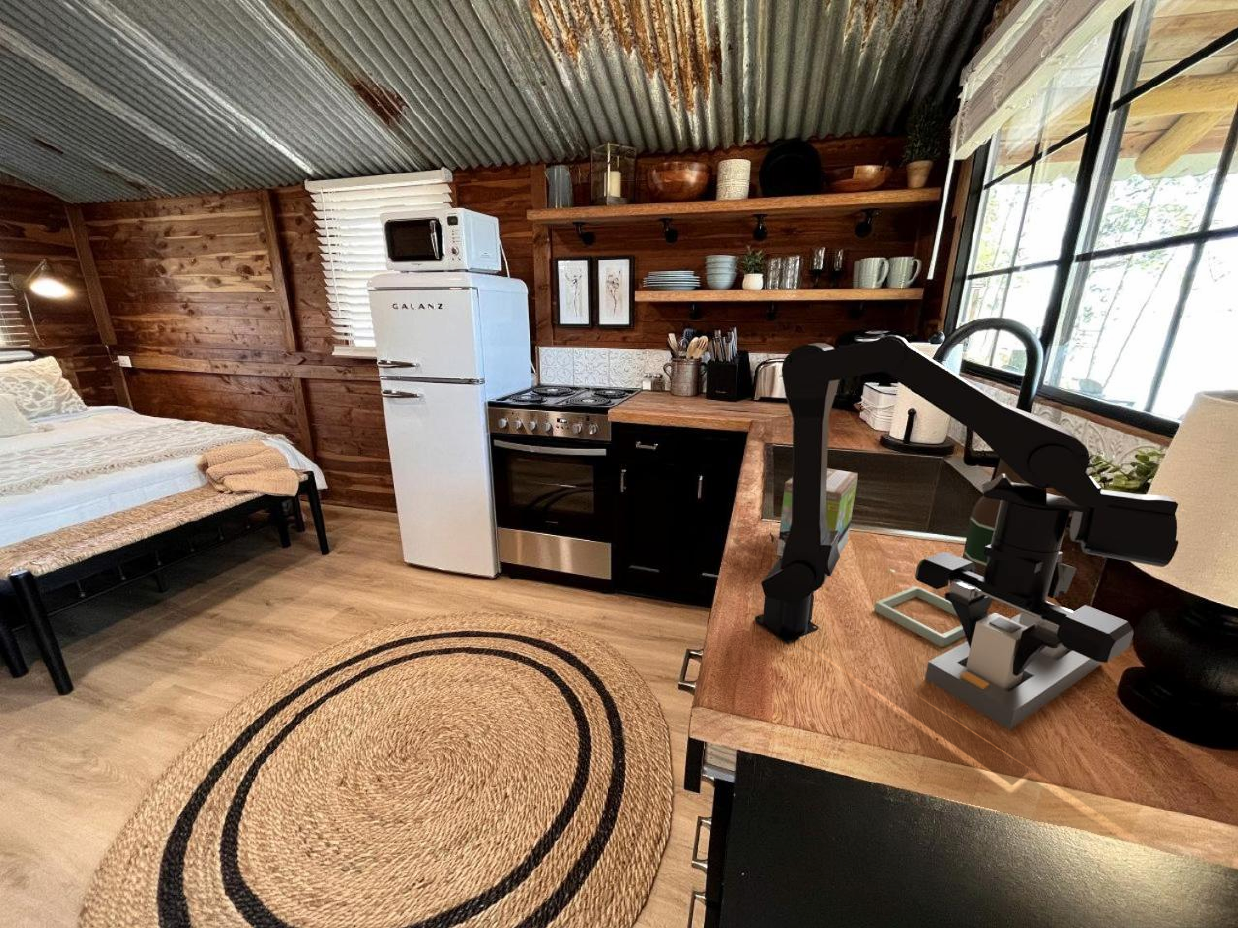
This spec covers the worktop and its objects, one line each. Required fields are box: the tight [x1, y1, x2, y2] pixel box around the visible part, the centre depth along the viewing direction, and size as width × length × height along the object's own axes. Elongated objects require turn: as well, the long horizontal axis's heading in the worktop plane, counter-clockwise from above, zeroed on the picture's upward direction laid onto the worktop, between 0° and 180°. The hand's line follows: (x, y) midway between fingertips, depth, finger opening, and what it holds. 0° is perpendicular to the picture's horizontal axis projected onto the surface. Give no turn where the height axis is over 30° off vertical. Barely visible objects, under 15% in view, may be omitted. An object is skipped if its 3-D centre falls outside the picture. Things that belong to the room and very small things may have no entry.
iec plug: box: [966, 612, 1028, 691], centre depth 58 cm, size 4×4×7 cm
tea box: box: [776, 467, 859, 558], centre depth 94 cm, size 15×10×15 cm
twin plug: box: [1019, 600, 1067, 660], centre depth 63 cm, size 4×4×7 cm
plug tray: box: [873, 585, 966, 648], centre depth 73 cm, size 10×10×2 cm
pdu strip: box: [924, 612, 1102, 731], centre depth 62 cm, size 25×9×3 cm, turn 118°
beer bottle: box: [962, 458, 1025, 577], centre depth 80 cm, size 8×8×24 cm
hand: (995, 663), depth 58 cm, fingers closed on iec plug, 4 cm apart
